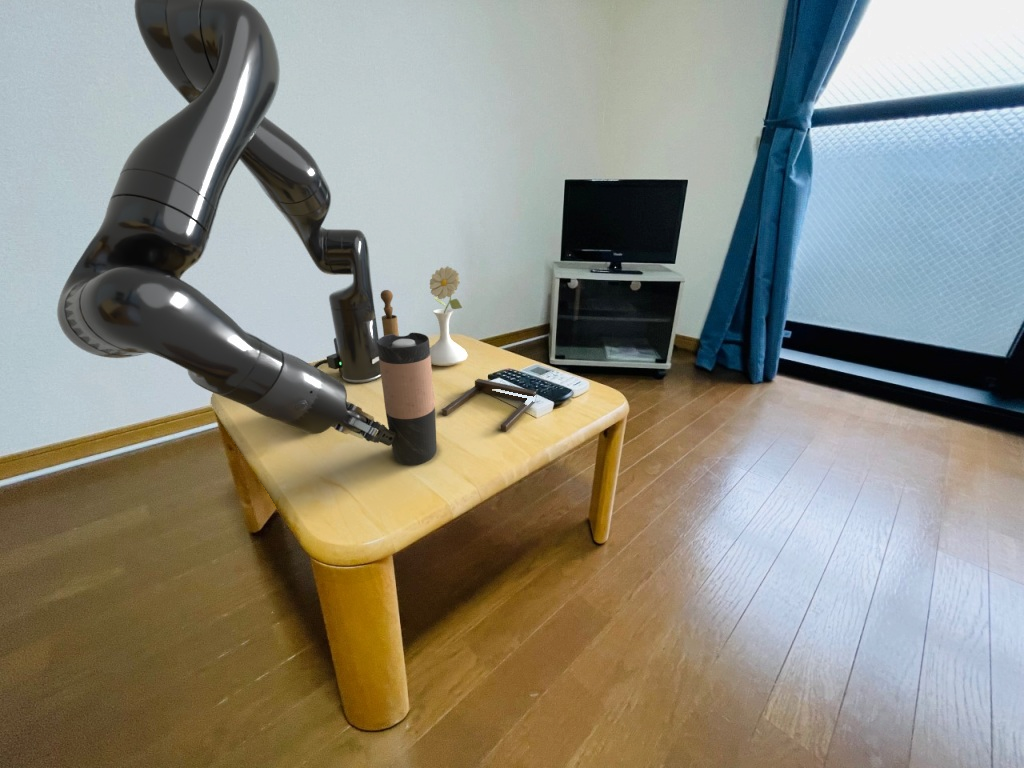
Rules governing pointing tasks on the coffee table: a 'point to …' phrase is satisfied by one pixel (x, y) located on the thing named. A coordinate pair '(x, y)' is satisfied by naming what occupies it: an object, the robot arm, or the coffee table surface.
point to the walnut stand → (487, 388)
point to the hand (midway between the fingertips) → (390, 438)
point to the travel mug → (409, 396)
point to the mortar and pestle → (389, 315)
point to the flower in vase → (445, 318)
